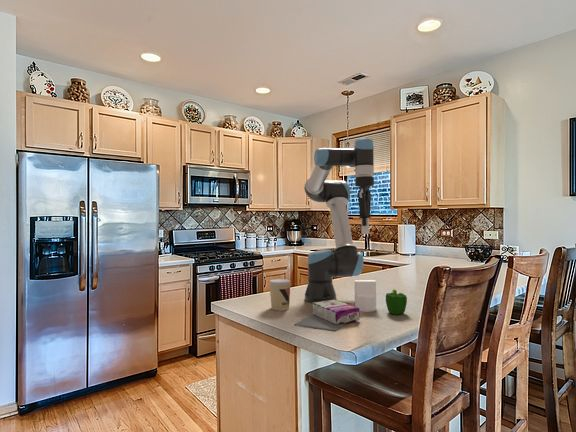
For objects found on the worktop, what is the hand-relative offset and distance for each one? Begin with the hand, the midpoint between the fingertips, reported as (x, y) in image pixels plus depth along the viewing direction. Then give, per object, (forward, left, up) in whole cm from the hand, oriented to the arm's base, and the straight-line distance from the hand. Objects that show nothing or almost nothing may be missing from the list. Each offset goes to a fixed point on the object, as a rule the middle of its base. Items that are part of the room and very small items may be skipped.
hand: (365, 233), depth 145 cm
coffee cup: (-36, -8, -33) cm, 49 cm away
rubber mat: (-12, -19, -32) cm, 39 cm away
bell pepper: (+11, +4, -33) cm, 35 cm away
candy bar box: (-2, -18, -30) cm, 35 cm away
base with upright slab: (-2, +6, -33) cm, 33 cm away
